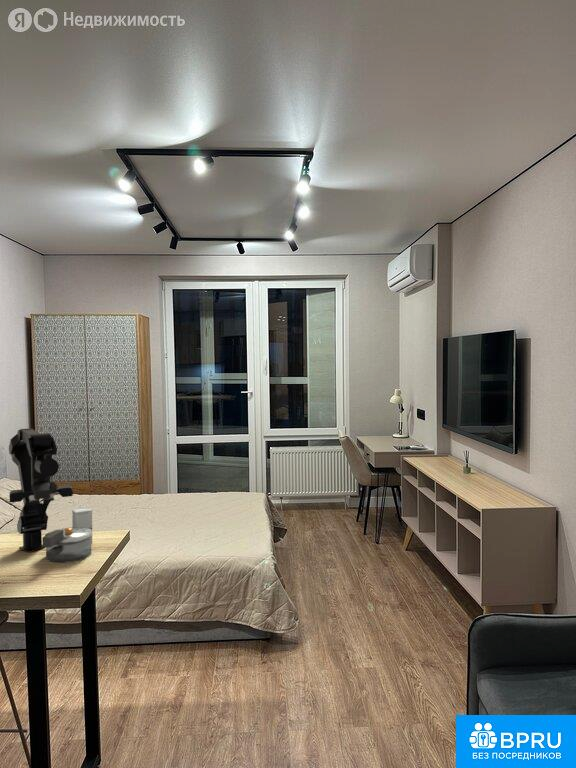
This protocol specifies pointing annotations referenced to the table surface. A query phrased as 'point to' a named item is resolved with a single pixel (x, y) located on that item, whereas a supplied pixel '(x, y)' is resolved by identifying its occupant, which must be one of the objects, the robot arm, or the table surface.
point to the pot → (69, 551)
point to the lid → (66, 536)
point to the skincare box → (82, 518)
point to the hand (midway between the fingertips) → (42, 519)
